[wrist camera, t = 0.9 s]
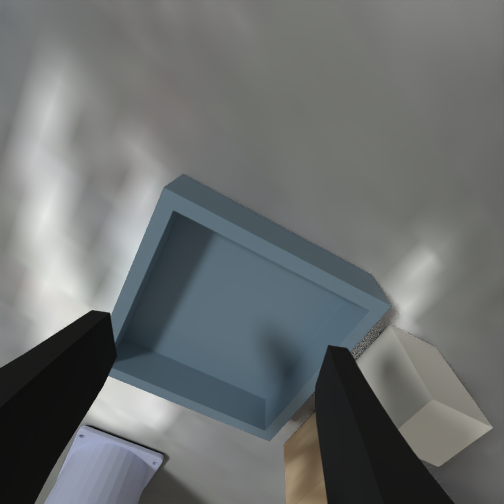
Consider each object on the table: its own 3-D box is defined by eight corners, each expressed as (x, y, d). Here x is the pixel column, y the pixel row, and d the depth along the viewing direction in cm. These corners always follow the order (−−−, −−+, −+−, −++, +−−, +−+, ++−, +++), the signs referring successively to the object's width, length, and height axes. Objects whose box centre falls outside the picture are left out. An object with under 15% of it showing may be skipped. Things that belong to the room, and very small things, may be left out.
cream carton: (398, 383, 23) (438, 467, 17) (354, 362, 22) (382, 442, 17) (435, 347, 21) (492, 427, 16) (390, 324, 21) (432, 399, 15)
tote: (269, 398, 24) (269, 441, 21) (115, 331, 22) (89, 368, 19) (371, 274, 19) (391, 306, 16) (183, 173, 17) (163, 187, 14)
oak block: (331, 464, 27) (343, 533, 23) (283, 444, 27) (286, 512, 22) (372, 426, 25) (395, 495, 21) (322, 404, 24) (333, 470, 20)
